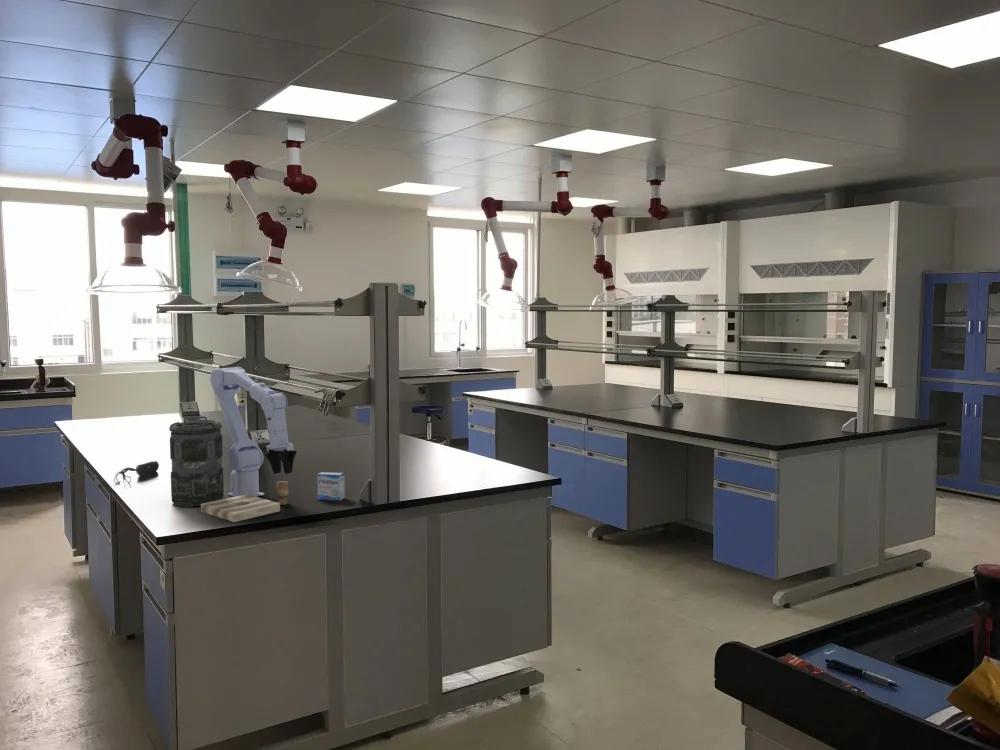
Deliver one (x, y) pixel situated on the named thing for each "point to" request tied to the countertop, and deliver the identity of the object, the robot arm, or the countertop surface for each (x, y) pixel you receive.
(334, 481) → the medicine box
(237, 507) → the board
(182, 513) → the countertop surface
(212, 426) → the canister
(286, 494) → the peg
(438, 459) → the countertop surface
